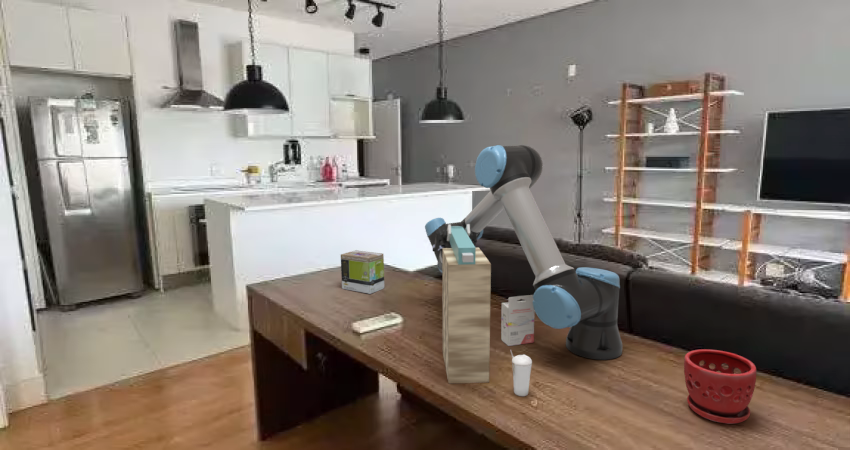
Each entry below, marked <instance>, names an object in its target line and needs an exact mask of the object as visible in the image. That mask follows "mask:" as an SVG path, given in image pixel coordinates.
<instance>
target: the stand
mask: <svg viewBox="0 0 850 450" xmlns="http://www.w3.org/2000/svg"><path fill="white" fill-rule="evenodd" d="M475 248H476V255H475V264H464V265H458V262H457V260H456V257H455V255H454V252H453V249H452V248H442V272H441V275H442V278H441V279H442V283H441V285H442V287H441V288H442V295H441V297H442V299H441V300H442V357H443V361H444V366H445V372H446V377H447V382H448V384H473V383H474V384H475V383H476V384H477V383H478V384H479V383H481V384H482V383H490V351H491V350H490V348H491V347H490V345H491V343H490V342H491V341H490V339H491V337H490V336H491V291H492V288H491V287H492V286H491V283H492V282H491V279H492V278H491V277H492V274H491V273H492V264H491V262H490V261H489V259H488V258H487V257H486V255H485V254H484V252H483V251H482V250H481V249H480V247H475Z"/></svg>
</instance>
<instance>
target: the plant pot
mask: <svg viewBox="0 0 850 450" xmlns="http://www.w3.org/2000/svg"><path fill="white" fill-rule="evenodd" d="M683 359H684V362H683V373H684V381H685V386H686V389H687V392H688V395H687V398H686V400H687V401H686V402H687V405H688V406H689V408H690V409H691V410H692V411H693V412H695V413H696V414H697V415H699V416H700V417H702V418H704V419H706V420H708V421H709V420H710V421H711V422H715V423H716V422H717V423H721V424H729V425H730V424H739V423H742V422H744V421H746V420H748V419H749V417H750V415H751V409H750V407H749V404H750V403H751V401H752V398H753V396H754V392H755V388H756V382H757V367H756V365H755V363H753V362H752V361H751V360H750V359H748V358H746V357H744V356H741V355H738V354H737V353H733V352H729V351H725V350H724V351H723V350H717V349H709V348H708V349H705V348H704V349H702V348H701V349H695V350H691V351H688V352H687V353H686V354H685V355H684V358H683ZM702 361H703V365H702V364H701V363H700V362H702ZM723 364H724V365H727V367H728V368H724V367H723ZM710 365H714V368H710ZM735 369H738V370H739V371H740V373H734V372H735Z"/></svg>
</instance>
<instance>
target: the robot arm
mask: <svg viewBox="0 0 850 450" xmlns="http://www.w3.org/2000/svg"><path fill="white" fill-rule="evenodd" d="M543 168H544V166H543V160H542V157H541V154H540V153H539V152H538V150H536V149H534V147H531V146H530V145H529V146H528V145H523V144H521V145H500V144H498V145H497V144H496V145H493V146H492V145H491V146H487V147H485V148H483V149H482V150H481V151H480V152H479V154H478V156H477V158H476V161H475V166H474V174H475V179H476V181H477V183H478V184H479V185H480V186H481V187H484V188H487V189H489V190H490V191H489V192H487V194H486V195H485V196H484V197H483V198H482V199H481V201H479V202H478V203H477V204H476V205H475V206H474V208H473V209H472V210H471V211H470V212H469V213H468V214H467V215H466V217H464V218H463V219H462V220H461V221H457V222H452V223H451V222H450V223H447V222H446V221H445V219H444V218H443V217H435V218H433V219H431V220H429V221H428V222H426V223H425V226H424V229H425V232H426V235H427V236H426V237H427V239H428V240H429V242H430V245H431V248H432V252H433V253H434V256H435V259H436V261H437V268H438V271H439V272H440V273H442V248H452V247H451V244H450V242H449V241H450V237H451V226H461V227H463V228H464V230H465V231H466V233H467V235H468V236H469V238H470V239H471V241H472V243H473V244H474V246H475V247H476V245H477V242H478V240H480V239H481V238H482V237H483V234H484V229H485V228H486V227H487V226H488V225H489V224H490V223H491V222H492V221H493V220H495V218H496V217H498V215H499V214H500V213H502V211H504V210H505V212H506V214H507V217H508V218H509V221H510V223H511V225H512V228H513V230H514V232H515V234H516V237H517V239H518V241H519V243H520V246H521V247H522V250H523V252H524V254H525V257H526V259H527V261H528V263H529V265H530V268H531V270H532V272H533V274H534V276H535V279H534V281H533V284H532V286H533V287H534V290H535V291H534V293H533V294H532V295H533V299H534V300H533V307H534V314H536V316H537V317H538V319H539V320H540V321H541V322H542V323H544V325H546V326H548V327H551V328H552V329H558V330H560V329H566V328H569V330H568V332H567V335H566V339H565V347H566V349H567V350H568V351H570V353H573V354H574V355H577V356H580V357H583V358H587V359H592V360H600V361H602V360H603V361H604V360H605V361H606V360H613V359H617V358H619V357H620V356H621V355H622V353H623V342H622V338H621V334H620V331H619V327H618V317H619V316H618V315H619V300H620V289H621V285H620V276H619V274H617V273H616V272H613V271H610V270H607V269H602V268H595V267H581V266H580V267H577V268H576V269H575V268H574V267H572V266H570V265H568V264H567V263H565V260H564V258H563V256H562V254H561V251H560V249H559V248H558V245H557V243H556V241H555V239H554V237H553V235H552V233H551V231H550V228H549V227H548V225H547V222H546V221H545V219H544V217H543V214H542V213H541V209H540V208H539V206H538V204H537V202H536V199H535V198H534V195H533V193H532V191H531V188H532V187H533V186H534V185H535V184H536V183H537V181H538V180H539V178H540V177H541V175H542V172H543Z"/></svg>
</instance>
